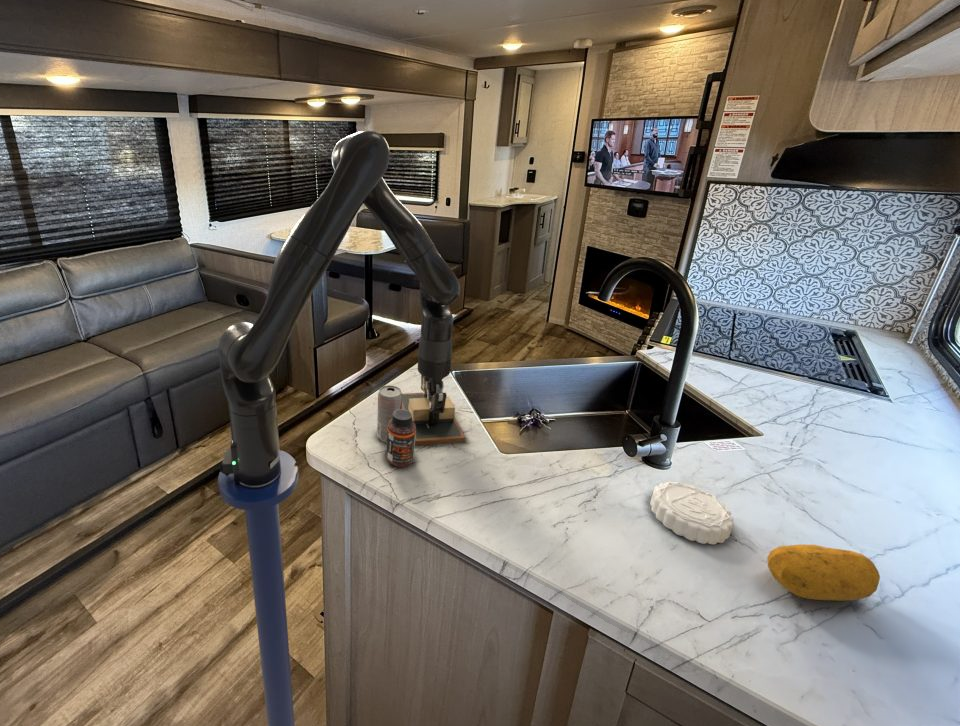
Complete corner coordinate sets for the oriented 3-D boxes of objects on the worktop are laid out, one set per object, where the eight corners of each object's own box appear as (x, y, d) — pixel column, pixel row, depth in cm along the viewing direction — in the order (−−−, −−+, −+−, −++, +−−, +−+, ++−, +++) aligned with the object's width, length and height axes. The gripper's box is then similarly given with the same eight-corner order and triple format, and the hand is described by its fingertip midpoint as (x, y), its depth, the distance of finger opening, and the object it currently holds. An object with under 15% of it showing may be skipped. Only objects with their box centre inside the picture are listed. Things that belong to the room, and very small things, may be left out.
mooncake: (699, 554, 76) (705, 538, 75) (635, 503, 87) (639, 488, 85) (745, 533, 80) (751, 517, 79) (678, 487, 91) (683, 472, 90)
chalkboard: (413, 445, 102) (414, 441, 102) (396, 397, 121) (396, 393, 121) (465, 441, 104) (466, 437, 103) (440, 395, 122) (440, 391, 122)
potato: (745, 564, 74) (759, 531, 72) (841, 572, 73) (858, 538, 71) (779, 607, 68) (795, 572, 65) (885, 616, 67) (906, 581, 64)
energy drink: (401, 431, 107) (403, 386, 103) (398, 445, 103) (400, 398, 98) (379, 427, 109) (380, 383, 104) (374, 441, 104) (375, 395, 100)
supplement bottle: (390, 470, 95) (391, 424, 91) (382, 451, 100) (384, 407, 96) (417, 466, 96) (420, 420, 92) (409, 448, 102) (411, 404, 98)
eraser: (412, 424, 108) (413, 410, 106) (408, 412, 112) (408, 398, 111) (453, 421, 109) (455, 407, 108) (447, 410, 114) (448, 396, 112)
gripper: (412, 340, 111) (409, 401, 117) (426, 369, 98) (422, 435, 104) (442, 339, 112) (437, 399, 118) (460, 367, 98) (454, 433, 104)
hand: (430, 416), depth 111 cm, fingers closed on eraser, 5 cm apart
